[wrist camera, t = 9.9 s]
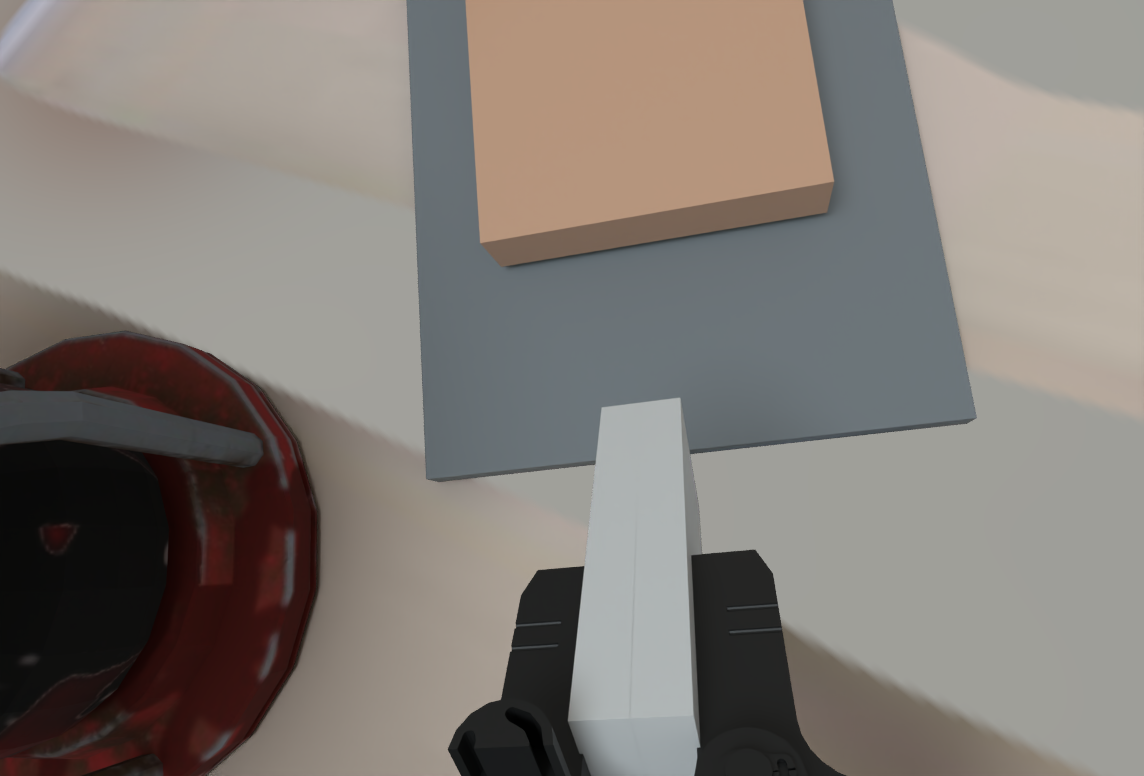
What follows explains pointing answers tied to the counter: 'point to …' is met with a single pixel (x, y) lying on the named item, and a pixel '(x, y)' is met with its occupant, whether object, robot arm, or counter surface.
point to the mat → (689, 287)
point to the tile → (640, 121)
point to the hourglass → (144, 558)
